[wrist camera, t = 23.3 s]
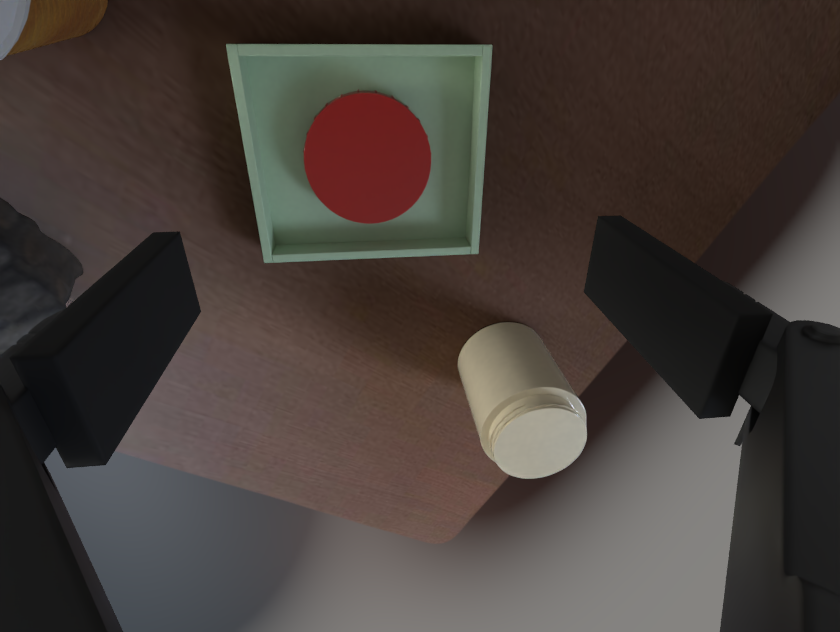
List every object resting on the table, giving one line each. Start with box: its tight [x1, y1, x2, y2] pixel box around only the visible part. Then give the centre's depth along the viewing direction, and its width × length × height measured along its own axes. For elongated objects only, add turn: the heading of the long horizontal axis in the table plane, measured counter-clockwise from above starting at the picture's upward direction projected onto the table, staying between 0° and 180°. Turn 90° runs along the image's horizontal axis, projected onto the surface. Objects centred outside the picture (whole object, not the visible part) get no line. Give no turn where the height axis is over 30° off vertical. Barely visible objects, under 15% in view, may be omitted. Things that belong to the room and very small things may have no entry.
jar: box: [458, 322, 587, 479], centre depth 38 cm, size 8×8×10 cm
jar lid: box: [303, 89, 431, 224], centre depth 31 cm, size 8×8×2 cm
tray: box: [226, 44, 492, 263], centre depth 31 cm, size 15×13×2 cm
